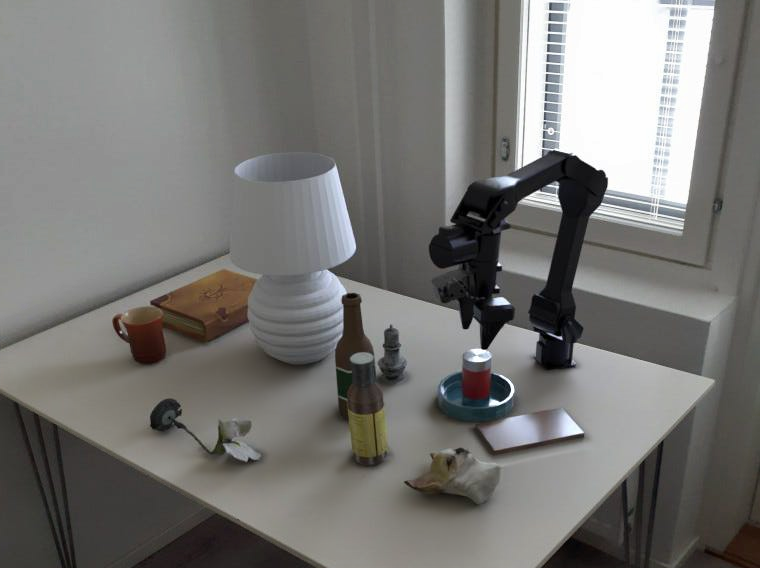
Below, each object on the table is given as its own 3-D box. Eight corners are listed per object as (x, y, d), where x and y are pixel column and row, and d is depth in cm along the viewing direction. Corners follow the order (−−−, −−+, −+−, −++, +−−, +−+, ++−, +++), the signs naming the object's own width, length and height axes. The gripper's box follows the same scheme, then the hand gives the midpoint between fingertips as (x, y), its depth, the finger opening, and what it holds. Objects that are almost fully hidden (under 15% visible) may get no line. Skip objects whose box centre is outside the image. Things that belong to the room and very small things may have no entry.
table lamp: (385, 345, 186) (378, 159, 165) (305, 395, 170) (286, 196, 149) (300, 316, 200) (283, 141, 179) (218, 359, 184) (190, 173, 163)
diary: (208, 345, 190) (204, 321, 187) (154, 323, 201) (149, 301, 197) (280, 307, 205) (278, 285, 202) (226, 289, 215) (223, 268, 212)
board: (560, 412, 160) (561, 407, 159) (584, 438, 152) (584, 432, 152) (474, 429, 157) (475, 423, 156) (494, 456, 149) (494, 450, 148)
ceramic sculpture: (485, 476, 130) (399, 454, 137) (486, 522, 134) (402, 498, 141) (513, 441, 137) (430, 422, 145) (514, 486, 141) (433, 465, 149)
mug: (178, 351, 188) (170, 308, 183) (156, 370, 181) (147, 326, 176) (132, 344, 192) (123, 302, 187) (109, 362, 185) (99, 319, 180)
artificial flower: (183, 422, 166) (191, 375, 162) (263, 476, 154) (273, 427, 150) (145, 431, 159) (152, 383, 155) (225, 489, 147) (235, 438, 143)
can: (483, 392, 167) (484, 346, 161) (493, 406, 162) (495, 359, 157) (457, 397, 166) (458, 351, 160) (467, 411, 161) (468, 364, 156)
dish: (495, 378, 171) (496, 364, 170) (525, 415, 160) (526, 400, 158) (427, 391, 169) (427, 377, 167) (453, 429, 157) (453, 414, 155)
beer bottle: (383, 403, 166) (379, 288, 153) (371, 425, 159) (365, 307, 147) (345, 398, 168) (338, 284, 155) (331, 419, 162) (322, 302, 149)
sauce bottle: (379, 443, 154) (375, 344, 144) (393, 461, 149) (389, 360, 139) (345, 452, 152) (338, 352, 142) (358, 471, 147) (352, 369, 137)
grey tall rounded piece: (405, 386, 171) (403, 331, 164) (375, 384, 172) (373, 330, 166) (409, 371, 176) (408, 318, 169) (381, 369, 177) (378, 317, 170)
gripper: (421, 243, 156) (416, 322, 163) (457, 278, 140) (450, 365, 148) (478, 239, 158) (471, 318, 166) (520, 273, 143) (510, 359, 150)
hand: (474, 339), depth 157 cm, fingers open, 9 cm apart
